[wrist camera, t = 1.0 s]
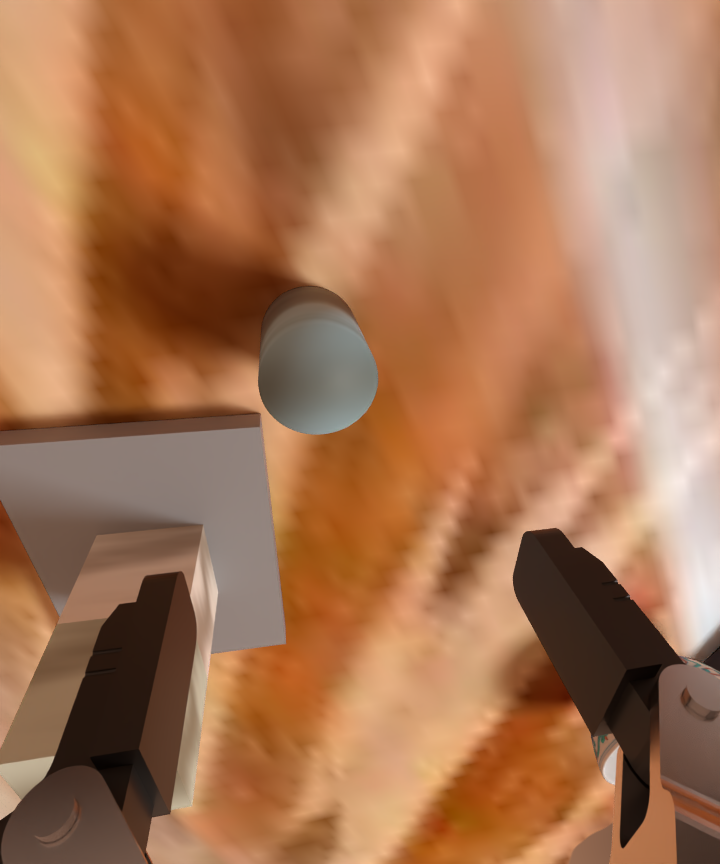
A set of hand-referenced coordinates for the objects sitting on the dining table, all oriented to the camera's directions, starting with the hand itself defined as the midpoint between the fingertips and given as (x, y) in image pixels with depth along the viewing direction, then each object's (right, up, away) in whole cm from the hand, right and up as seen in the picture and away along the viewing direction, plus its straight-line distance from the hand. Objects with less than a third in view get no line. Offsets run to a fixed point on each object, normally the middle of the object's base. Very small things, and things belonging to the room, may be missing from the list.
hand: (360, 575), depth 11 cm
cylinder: (-3, +9, +13) cm, 16 cm away
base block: (-12, -5, +18) cm, 23 cm away
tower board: (-13, -4, +19) cm, 24 cm away
